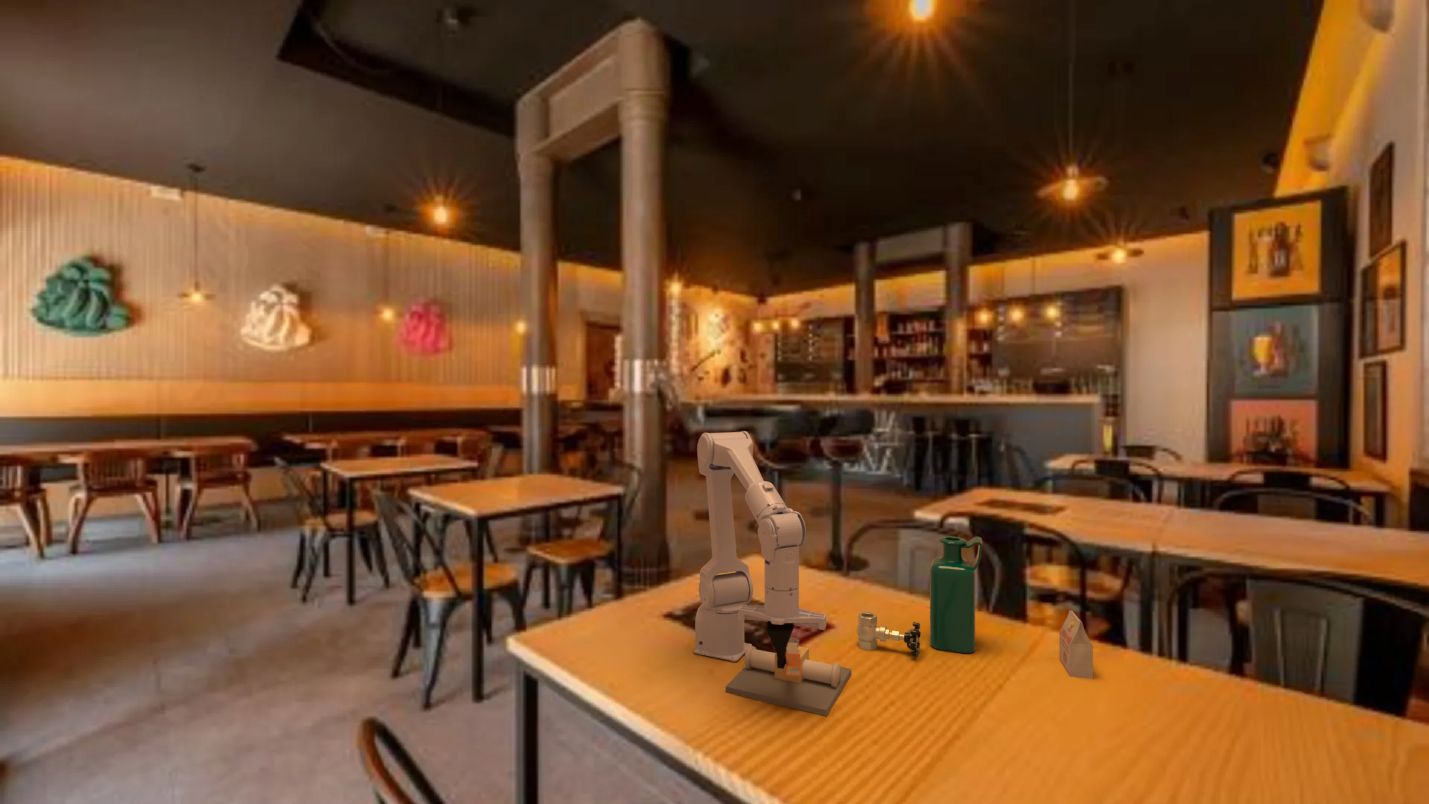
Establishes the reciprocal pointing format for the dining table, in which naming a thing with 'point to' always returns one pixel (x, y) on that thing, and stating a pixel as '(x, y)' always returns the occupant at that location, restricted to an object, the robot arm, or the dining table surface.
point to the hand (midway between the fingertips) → (781, 665)
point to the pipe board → (790, 682)
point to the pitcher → (953, 596)
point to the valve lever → (793, 658)
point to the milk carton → (1075, 648)
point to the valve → (884, 633)
